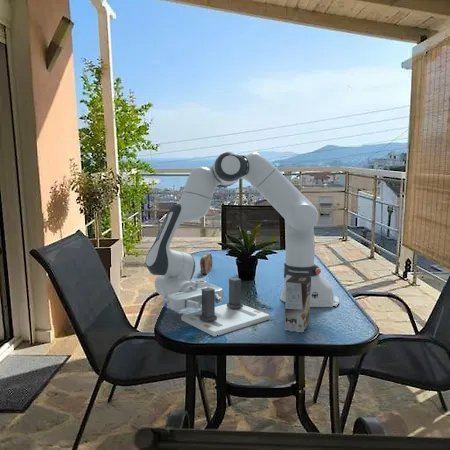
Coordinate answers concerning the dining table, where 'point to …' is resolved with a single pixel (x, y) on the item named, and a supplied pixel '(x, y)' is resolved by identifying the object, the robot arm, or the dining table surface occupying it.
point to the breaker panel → (226, 319)
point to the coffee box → (297, 303)
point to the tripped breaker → (208, 305)
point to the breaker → (234, 293)
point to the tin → (206, 263)
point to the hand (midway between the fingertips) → (209, 303)
